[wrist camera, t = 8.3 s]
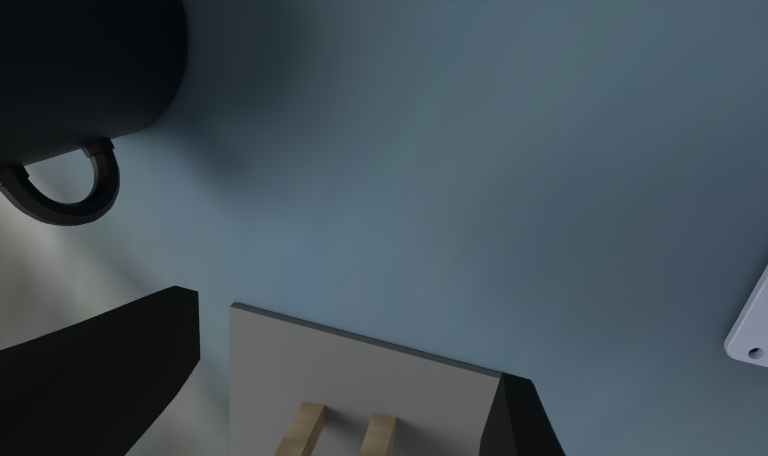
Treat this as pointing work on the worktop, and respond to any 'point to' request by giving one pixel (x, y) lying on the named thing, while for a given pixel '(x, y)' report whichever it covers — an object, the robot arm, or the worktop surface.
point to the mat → (348, 389)
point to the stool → (310, 423)
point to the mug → (81, 90)
